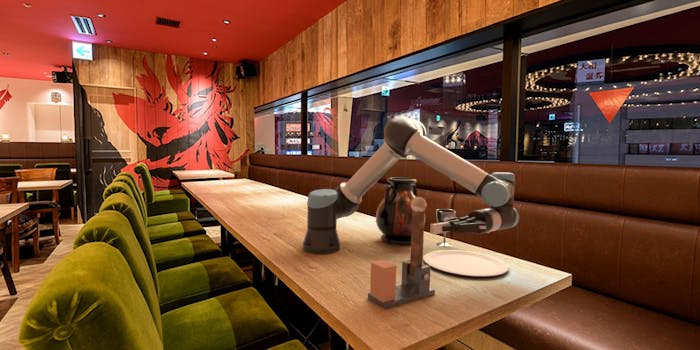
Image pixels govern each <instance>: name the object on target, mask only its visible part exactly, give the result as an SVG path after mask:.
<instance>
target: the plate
mask: <svg viewBox="0 0 700 350" xmlns="http://www.w3.org/2000/svg"><path fill="white" fill-rule="evenodd" d="M422 261H424V263H425V265H428V266H430V267H431V268H433V269H436V270H438V271H440V272H444V273H448V274H452V275H458V276H463V277H470V278H471V277H473V278H492V277H497V276H502V275H504V274H506V273H508V271H509V269H510V267H509V266H508V264H507V263H506V262H504V261H503V260H501V259H499V258H497V257H494V256H492V255H489V254H485V253H481V252H477V251H469V250H461V249H438V250H433V251H430V252H427V253H426V254H424V255H423V260H422Z"/></svg>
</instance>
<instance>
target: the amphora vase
mask: <svg viewBox="0 0 700 350" xmlns="http://www.w3.org/2000/svg"><path fill="white" fill-rule="evenodd" d="M386 181H387V182H388V183H390V184H391V185H390V184H388V185H387V186H386V187H385V190H384V198H382V200H381V201H380V203H379V204H378V207H377V209H376V212H375V213H376V214H375V223H376V226H377V228H378V229H379V231H380V232H381V233H382V235H381V236H380V240H381V241H382V242H384V243H386V244H388V245H393V246H399V247H400V246H401V247H402V246H403V247H404V246H411V231H412V208H411V201H412V200H413V199H414V198H416V197H418V189H417V186H416V183H417V181H418V180H417V179H416V178H413V177H403V176H401V177H398V176H397V177H388V178H387V179H386ZM425 214H426V213H425ZM425 214H424V226H425V223H426V215H425Z"/></svg>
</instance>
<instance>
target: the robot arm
mask: <svg viewBox="0 0 700 350" xmlns="http://www.w3.org/2000/svg"><path fill="white" fill-rule="evenodd" d="M427 134H428V133H427V128H426V127H425V125H424V124H423V122H421V121H419V120H418V119H415V118H409V117H406V116H401V115H400V116H396V117H393V118H391V119H390V120H389V121H388V122H387V123H386V124H385V126H384V130H383V144H382V145H381V146H380V147H379V148H378V149H377V150H376V151H375V152H374V153H373V154H372V155H371V156H370V157H369V158H368V160H367V161H365V163H364V164H363V165H362V166H360V168H359V169H358V170H357V171H356V172H355V174H354V175H352V176H351V178H350V179H348V181H347V182H345V181H343V182H341V183H339V185H338V186H337V187H336V188H335V189H333V188H332V189H330V188H322V189H315V190H313V191H311V192H309V194H308V196H307V202H306V203H307V221H306V222H307V225H306V226H307V227H306V228H307V229H306V233H305V236H304V238H303V241H302V250H303V251H304V252H305V253H310V254H317V255H327V254H333V253H337V252H339V251H340V250H341V242H340V238H339V235H338V230H337V223H338V222H337V220H338V219H342V218H344V217H345V218H346V217H349V216H352V215H353V214H355V213H356V211H357V210H358V208H359V205H360V204H361V203H362V202H363V198H362V197H363V196H364V195H365V194H366V192H368V191H369V190H370V189H371V188H372V187H373V186H374V185H375V184H376V183H377V182H378V181H379V180H380V179H381V178H382V177H383V176H384V175H385V173H386V172H388V171H389V170H390V169H391V168H392V167H393V166H394V165H395V164H396V163H397V162H398V161H399V160H400V159H406V158H407V157H408V156H409V155H411V156H413V157H414V158H417V160H419V161H421V162H423V163H425V164H426V165H427V166H429V167H431V168H433V169H434V170H436V171H437V172H439V173H441V174H443V175H444V176H446V177H447V178H449V179H450V180H452V181H454V182H455V183H457V184H459V185H460V186H462V187H464V188H465V189H467V190H469V191H470V192H471V193H473V194H475V195H476V196H478V197H480V198H481V199H482V200H483V202H484V203H485V204H487V206H489V208H482V209H477V210H472V211H470V212H469V213H468V215H465V216H462V217H457V216H456V215H455V216H452V217H451V218H447V219H444V220H441V223H430V226H429V227H430V230H429V232H430V234H432V235H438V234H443V233H445V232H446V234H447V233H450V232H452V233H454V232H456V233H457V234H462V233H473V234H476V235H481V234H485V233H486V234H490V232H495V231H502V230H508V229H511V228H513V227H515V226H517V225H518V223H519V222H520V214H519V212H518V210H517V208H515V207H514V205H515V204H514V201H515V199H514V198H515V187H516V186H515V185H516V179H515V177H516V176H515V174H514V173H512V172H503V171H502V172H501V171H499V172H498V171H495V172H492V173H491V174H489V173H488V172H486V171H485V170H483V169H481V168H480V167H478V166H476V165H475V164H473V163H471V162H469V161H468V160H466V159H464V158H462V157H460V156H459V155H457V154H455V153H454V152H452V151H450V150H448V149H447V148H445V147H444V146H441V145H440V144H438V143H437V142H435V141H433V140H431V139H430V138H428V137H427Z"/></svg>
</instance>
